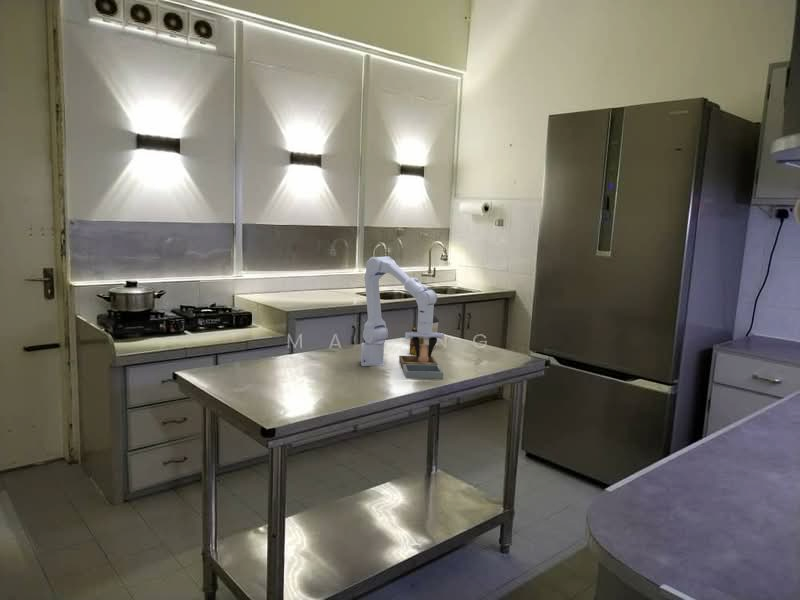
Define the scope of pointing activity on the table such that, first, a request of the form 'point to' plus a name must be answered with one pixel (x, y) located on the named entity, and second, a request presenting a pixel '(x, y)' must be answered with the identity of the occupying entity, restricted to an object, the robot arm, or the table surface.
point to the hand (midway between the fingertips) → (423, 356)
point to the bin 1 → (415, 360)
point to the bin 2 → (422, 371)
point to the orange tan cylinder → (423, 353)
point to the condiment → (412, 347)
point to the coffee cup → (434, 329)
